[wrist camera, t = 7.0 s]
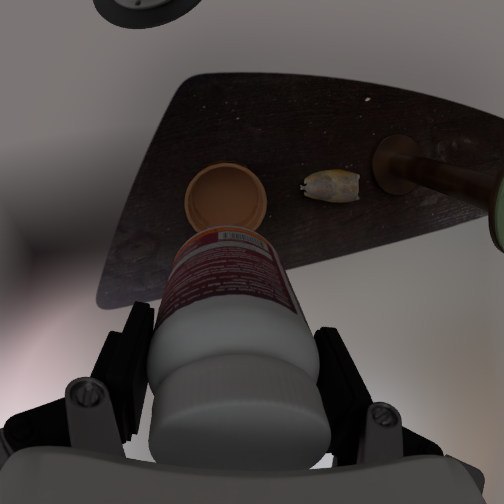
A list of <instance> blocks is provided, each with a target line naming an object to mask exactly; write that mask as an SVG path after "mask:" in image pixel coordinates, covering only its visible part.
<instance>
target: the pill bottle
mask: <svg viewBox="0 0 504 504" xmlns="http://www.w3.org/2000/svg"><path fill="white" fill-rule="evenodd" d="M319 368H320V361H319V353H318V349H317V346H316V343H315V339H314V337H313V335H312V333H311V330H310V328H309V326H308V323H307V321H306V319H305V316H304V314H303V311H302V309H301V306H300V304H299V301H298V300H297V297H296V295H295V293H294V291H293V288H292V286H291V283H290V281H289V279H288V276H287V273H286V271H285V269H284V267H283V264H282V262H281V259H280V257H279V255H278V254H277V252H276V251H275V249H274V248H273V246H272V245H271V244H270V243H269V242H268V241H267V240H266V239H265V238H264V237H262V236H261V235H259V234H258V233H256V232H254V231H252V230H250V229H247V228H243V227H239V226H230V225H226V226H217V227H213V228H209V229H206V230H203V231H201V232H199V233H197V234H196V235H194V236H193V237H191V238H190V239H189V240H188V241H187V242H186V243H185V244H184V245H183V246H182V247H181V249H180V250H179V252H178V253H177V255H176V257H175V259H174V262H173V265H172V268H171V271H170V275H169V278H168V281H167V285H166V288H165V291H164V295H163V298H162V301H161V305H160V307H159V311H158V315H157V320H156V323H155V328H154V331H153V334H152V337H151V340H150V345H149V350H148V354H147V360H146V374H147V379H148V383H149V386H150V389H151V391H152V393H153V395H154V401H153V406H152V418H151V425H150V432H149V440H148V442H149V450H150V452H151V455H152V457H153V459H154V460H155V461H156V463H160V464H167V465H175V466H183V467H192V468H203V469H216V470H235V471H289V470H307V469H310V468H311V467H313V466H314V465H315V464H316V463H318V462H319V461H320V460H321V459H322V457H323V456H324V455H325V453H326V452H327V450H328V448H329V446H330V442H331V430H330V426H329V423H328V419H327V416H326V413H325V410H324V407H323V403H322V399H321V396H320V393H319V390H318V388H317V386H316V383H317V380H318V376H319Z"/></svg>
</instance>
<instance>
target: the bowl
mask: <svg viewBox="0 0 504 504" xmlns="http://www.w3.org/2000/svg"><path fill="white" fill-rule="evenodd" d="M266 206H267V198H266V193H265V189H264V187H263V185H262V184H261V182H260V180H259V178H258V177H257V176H256V174H255V173H254V172H253V171H252V170H251V169H250V168H249V167H247V166H246V165H245V164H242V163H240V162H238V161H235V160H226V159H222V160H218V161H214V162H211V163H209V164H207V165H206V166H204V167H202V168H201V169H200V170H199V171H198V173H197V174H196V175H195V176H194V178H193V179H192V181H191V182H190V184H189V186H188V189H187V192H186V194H185V211H186V215H187V218H188V221H189V222H190V224H191V225H192V227H193V228H194V230H195V231H197V232H198V233H199V232H201V231H203V230H206V229H209V228H213V227H217V226H226V225H230V226H239V227H243V228H247V229H250V230H252V231H255V230H256V229H257V228H258V227H259V226H260V224H261V222H262V220H263V218H264V216H265V213H266Z"/></svg>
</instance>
